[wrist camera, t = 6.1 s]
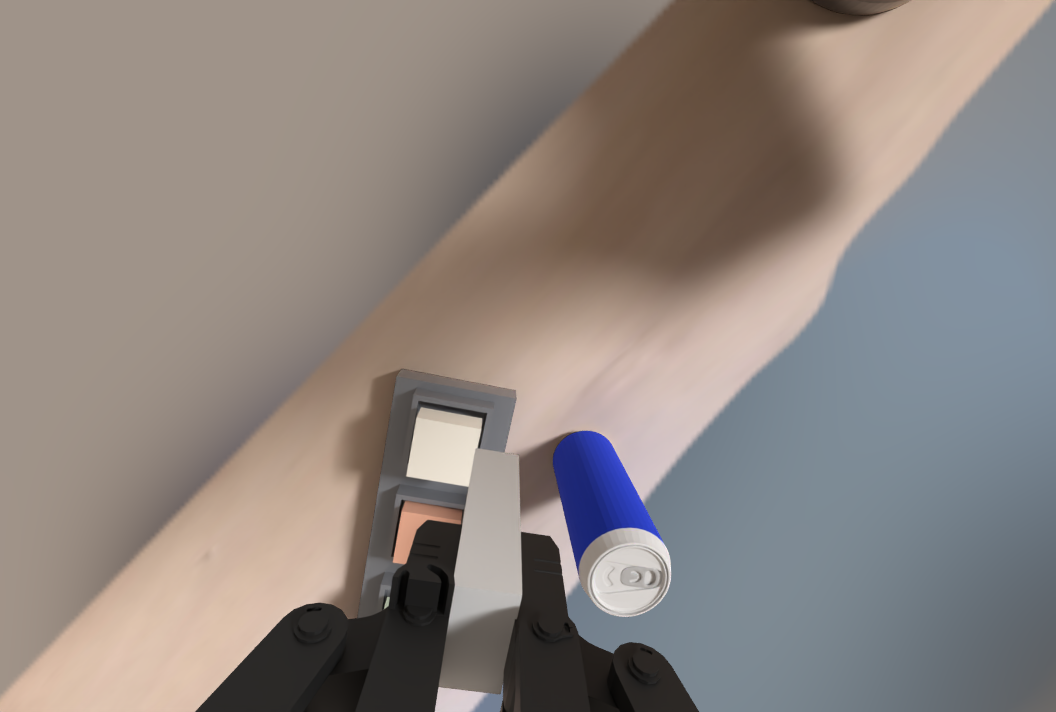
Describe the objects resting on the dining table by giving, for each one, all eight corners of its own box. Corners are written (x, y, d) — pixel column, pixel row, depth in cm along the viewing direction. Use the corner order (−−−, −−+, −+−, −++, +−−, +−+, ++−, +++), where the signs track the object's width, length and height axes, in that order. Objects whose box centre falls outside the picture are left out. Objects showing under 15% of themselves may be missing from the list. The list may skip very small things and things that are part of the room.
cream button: (420, 407, 35) (416, 417, 33) (482, 418, 35) (481, 429, 34) (411, 463, 36) (406, 476, 34) (470, 473, 36) (469, 486, 35)
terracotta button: (406, 496, 38) (401, 511, 36) (463, 506, 39) (461, 520, 37) (397, 546, 39) (392, 562, 37) (453, 554, 40) (450, 571, 38)
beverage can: (549, 484, 41) (577, 620, 27) (554, 426, 40) (586, 537, 26) (610, 485, 42) (669, 621, 27) (616, 428, 40) (683, 539, 26)
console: (401, 368, 38) (382, 396, 32) (515, 390, 39) (518, 421, 33) (356, 643, 44) (332, 713, 38) (456, 656, 45) (449, 726, 39)
